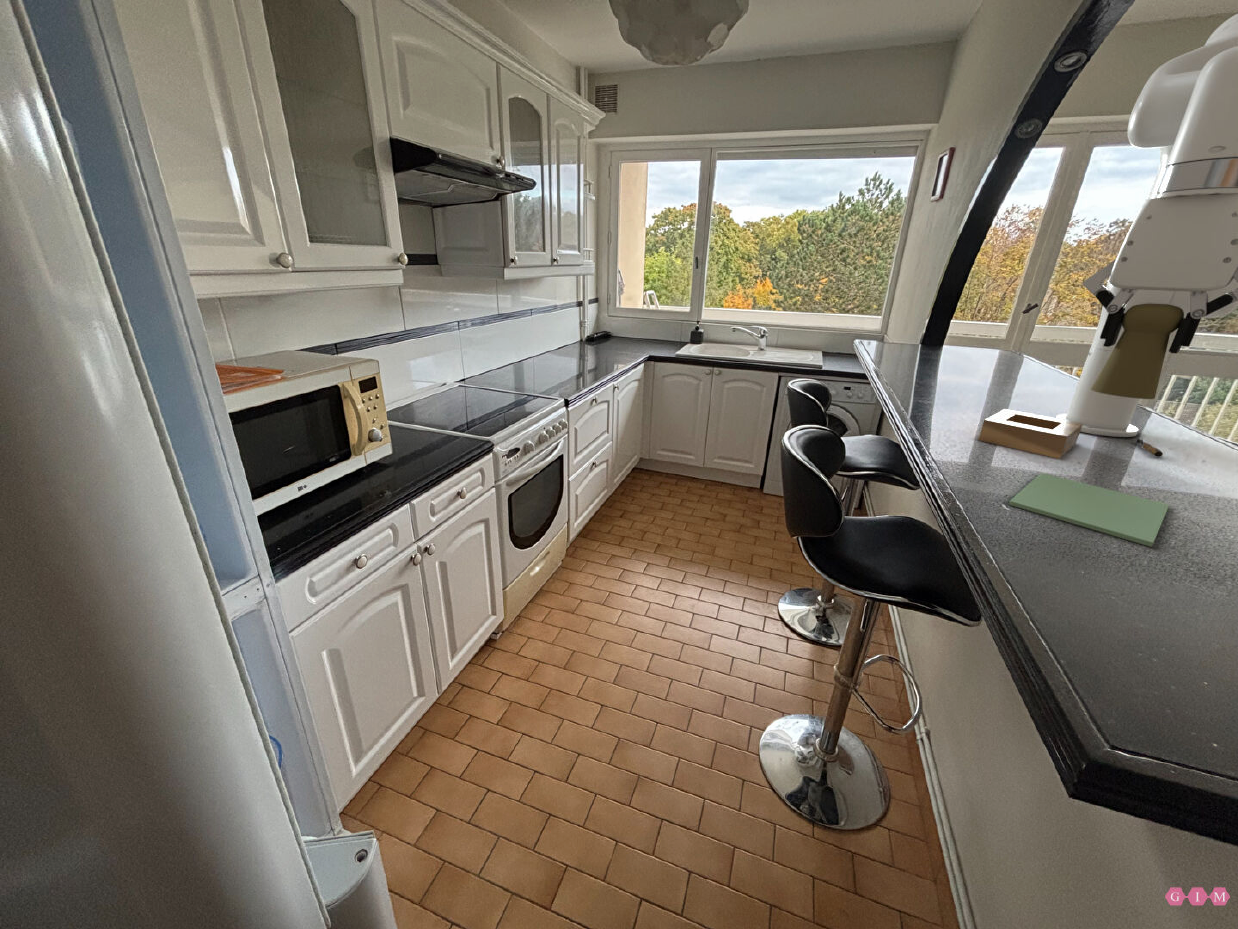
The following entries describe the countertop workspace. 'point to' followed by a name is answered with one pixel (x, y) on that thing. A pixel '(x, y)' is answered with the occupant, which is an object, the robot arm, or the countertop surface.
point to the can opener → (1150, 448)
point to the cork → (1139, 351)
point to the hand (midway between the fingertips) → (1140, 347)
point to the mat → (1093, 508)
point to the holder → (1030, 432)
